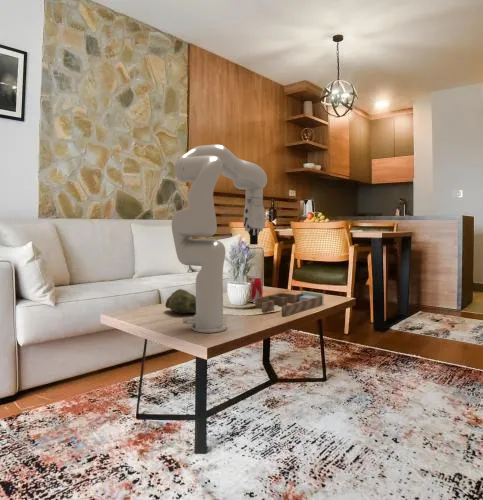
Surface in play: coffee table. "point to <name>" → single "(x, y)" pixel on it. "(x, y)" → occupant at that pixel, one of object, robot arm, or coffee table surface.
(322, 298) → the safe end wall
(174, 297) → the decorative rock
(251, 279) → the soda can
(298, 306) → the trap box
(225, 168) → the robot arm
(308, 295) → the block
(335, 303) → the coffee table surface
